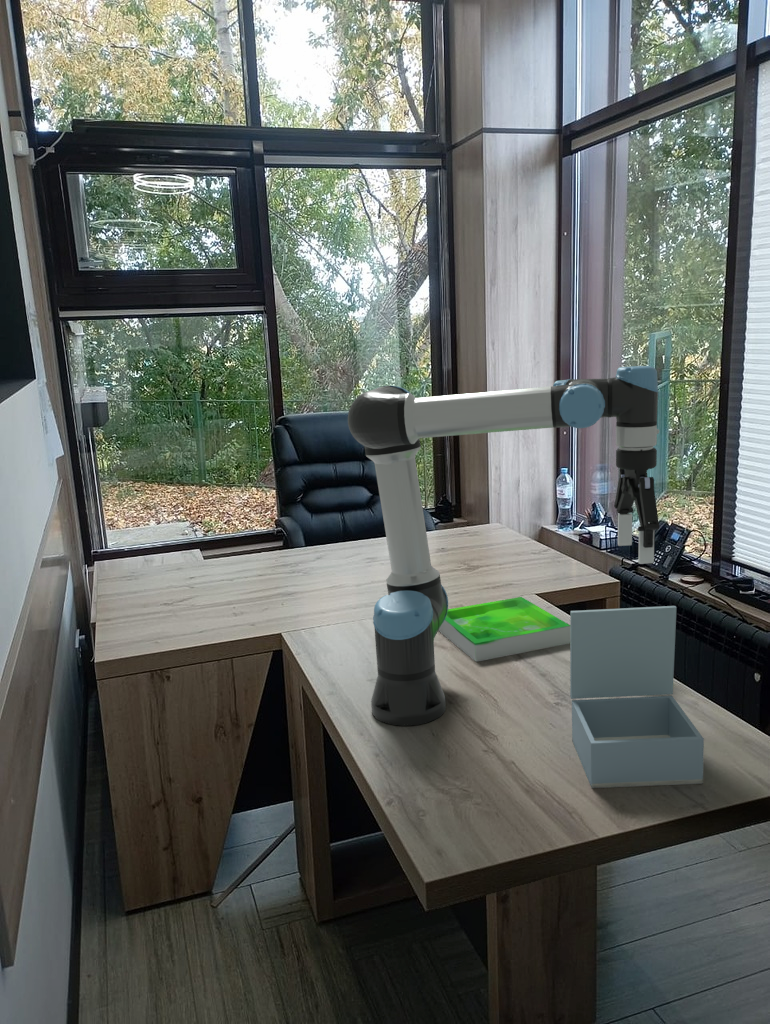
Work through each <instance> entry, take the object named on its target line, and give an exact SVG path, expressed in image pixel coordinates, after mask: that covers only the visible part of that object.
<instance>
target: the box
mask: <svg viewBox="0 0 770 1024" xmlns="http://www.w3.org/2000/svg"><path fill="white" fill-rule="evenodd" d="M571 729H572V730H571V738H572V739H571V741H572V744H573V747H574V748H575V751H576V753H577V756H578V758H579V761H580V764H581V766H582V768H583V771H584V773H585V775H586V778H587V780H588V784H589V785H590V788H591V789H603V788H604V789H605V788H606V789H607V788H628V787H629V788H630V787H655V786H657V787H658V786H677V785H699V784H700V785H701V784H702V785H703V784H704V751H705V750H704V747H705V746H704V745H705V744H704V743H705V742H704V741H705V739H704V736H702V734H701V733H700V731H699V730H698V729H697V727H696V726H695V725H694V723H693V722H692V720H691V719H690V718H689V717H688V715H687V714H686V713H685V711H684V710H683V708H682V707H681V705H680V704H679V703H678V701H677V700H676V699H675V698H674V696H673V695H654V696H632V697H610V698H588V699H571Z"/></svg>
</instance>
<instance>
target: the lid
mask: <svg viewBox="0 0 770 1024" xmlns="http://www.w3.org/2000/svg"><path fill="white" fill-rule="evenodd" d="M569 619H570V622H569V623H570V624H569V625H570V648H569V649H570V657H569V658H570V661H569V663H570V664H569V665H570V667H569V669H570V670H569V673H570V674H569V675H570V676H569V677H570V678H569V679H570V680H569V681H570V682H569V683H570V684H569V687H570V689H569V691H570V692H569V694H570V695H569V697H570V699H571V700H579V699H600V698H622V697H644V696H666V695H673V692H674V671H675V652H676V650H675V649H676V646H675V645H676V628H677V626H676V625H677V606H676V605H667V606H665V605H663V606H645V607H628V608H627V607H626V608H624V607H623V608H607V609H606V608H603V609H586V610H585V609H584V610H570V618H569Z"/></svg>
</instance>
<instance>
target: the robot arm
mask: <svg viewBox="0 0 770 1024" xmlns="http://www.w3.org/2000/svg"><path fill="white" fill-rule="evenodd" d="M658 400H659V386H658V371H657V369H656V367H654V366H652V365H636V366H635V365H632V366H620V367H618V368H617V370H616V374H615V377H607V378H582V379H581V378H577V379H575V378H569V379H563V380H556V381H555V382H554V383H553V384H552V386H538V387H529V388H517V389H516V388H515V389H507V390H506V389H504V390H493V391H485V392H484V391H483V392H482V391H481V392H472V393H469V392H468V393H460V394H459V393H458V394H457V393H456V394H447V395H434V396H424V397H423V396H422V397H416V396H415V395H413V394H412V393H411V391H409V390H407V389H406V388H403V387H402V386H397V385H383V386H379V387H376V388H373V389H369V390H367V391H365V392H362V393H360V394H359V395H358V396H357V397H356V398H355V399H354V400H353V402H352V403H351V405H350V407H349V409H348V412H347V413H348V414H347V426H348V430H349V431H350V434H351V435H352V437H353V438H354V439H355V440H356V441H357V442H358V443H359V444H360V445H362V446H364V452H365V453H364V454H365V456H366V457H367V458H368V459H369V460H371V461H372V462H373V463H374V469H375V470H374V471H375V475H376V483H377V487H378V495H379V499H380V506H381V512H382V518H383V524H384V531H385V537H386V543H387V550H388V551H387V552H388V556H389V563H390V569H391V572H390V574H389V575H388V576H387V577H386V580H385V581H386V587H387V588H386V589H387V594H385V595H383V596H382V597H380V598H379V599H378V600H377V601H376V602H375V605H374V608H373V616H372V617H373V618H372V620H373V622H372V623H373V626H374V627H373V628H374V639H375V653H376V667H377V678H376V681H375V684H374V689H373V692H372V696H371V701H370V704H371V714H372V713H373V714H372V715H374V716H375V717H376V718H377V719H376V718H375V717H374V716H373V717H374V718H375V719H376V720H378V719H379V720H378V721H380V720H381V721H380V722H382V721H383V722H382V723H384V722H385V724H389V725H393V726H402V727H404V726H406V727H407V726H409V727H410V726H418V725H423V724H427V723H429V722H432V721H435V720H437V719H439V718H440V717H441V716H443V714H444V713H445V712H446V709H447V707H446V706H447V705H446V697H445V692H444V691H443V688H442V685H441V682H440V681H439V678H438V675H437V673H436V663H435V661H436V660H435V646H434V645H435V638H436V636H437V633H438V632H439V631H438V630H439V628H440V626H441V625H442V623H443V622H444V620H445V618H446V615H447V611H448V609H449V598H448V593H447V592H446V589H445V587H444V586H443V585H442V580H441V575H440V571H439V570H438V569H436V568H435V567H434V566H432V562H431V556H430V555H431V554H430V549H429V548H430V547H429V541H428V536H427V535H428V534H427V528H426V527H427V526H426V524H425V523H426V520H425V515H424V509H423V502H422V494H421V488H420V481H419V474H418V469H417V462H416V455H417V454H418V452H419V451H420V449H421V447H422V446H421V439H426V438H436V437H437V438H439V437H450V436H463V435H476V434H488V433H502V432H515V431H527V430H528V431H529V430H540V429H554V428H555V429H556V428H570V427H571V428H576V429H585V428H586V429H587V428H590V427H591V426H593V425H595V424H596V423H597V422H598V421H599V420H600V419H601V418H615V420H616V424H615V445H616V446H617V447H618V448H617V449H616V450H615V466H616V467H617V468H618V472H619V473H618V482H617V489H616V495H615V500H614V509H616V513H617V546H618V547H622V546H623V547H625V546H626V547H627V546H632V545H633V538H632V537H633V514H632V513H635V512H634V507H633V505H634V503H635V507H636V512H637V517H638V521H639V522H638V523H639V526H638V527H637V529H636V530H637V532H638V558H637V559H638V561H637V563H638V564H640V565H644V564H655V531H656V530H659V529H660V521H659V514H658V507H657V501H656V493H655V479H654V477H653V476H648V470H651V469H654V468H656V466H657V462H658V461H657V458H658V456H657V455H658V452H657V448H655V447H656V445H657V443H658V442H657V439H658V436H657V435H658V434H659V433H660V429H658V407H659V405H658V404H659V402H658Z"/></svg>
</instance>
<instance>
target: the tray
mask: <svg viewBox="0 0 770 1024" xmlns="http://www.w3.org/2000/svg"><path fill="white" fill-rule="evenodd" d="M438 632H440V634H442V635H443V636H444V637H445V638H447V639H448V640H449V641H451V643H453V644H454V645H455V646H456V647H457V648H459V649H460V650H462V652H463V653H465V654H466V655H467V656H468V657H469V656H470V657H469V658H471V659H472V660H473V661H474V662H475V661H476V662H481V661H486V660H487V661H488V660H491V659H498V658H503V657H508V656H512V655H518V654H522V653H527V652H534V651H537V650H543V649H548V648H553V647H558V646H559V647H560V646H564V645H569V644H570V624H569V623H567V622H565V621H564V620H562V619H561V618H558V617H557V616H555V615H554V614H551V613H550V612H548V611H547V610H546V609H543V608H542V607H539V606H538V605H536V604H535V603H533V602H531V601H529V600H528V599H526V598H524V597H522V596H517V597H511V598H507V599H499V600H495V601H489V602H483V603H479V604H478V603H477V604H473V605H466V606H460V607H454V608H453V607H452V608H448V611H447V615H446V618H445V620H444V622H443V623H442V625H441V626H440V628H439V630H438Z"/></svg>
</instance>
